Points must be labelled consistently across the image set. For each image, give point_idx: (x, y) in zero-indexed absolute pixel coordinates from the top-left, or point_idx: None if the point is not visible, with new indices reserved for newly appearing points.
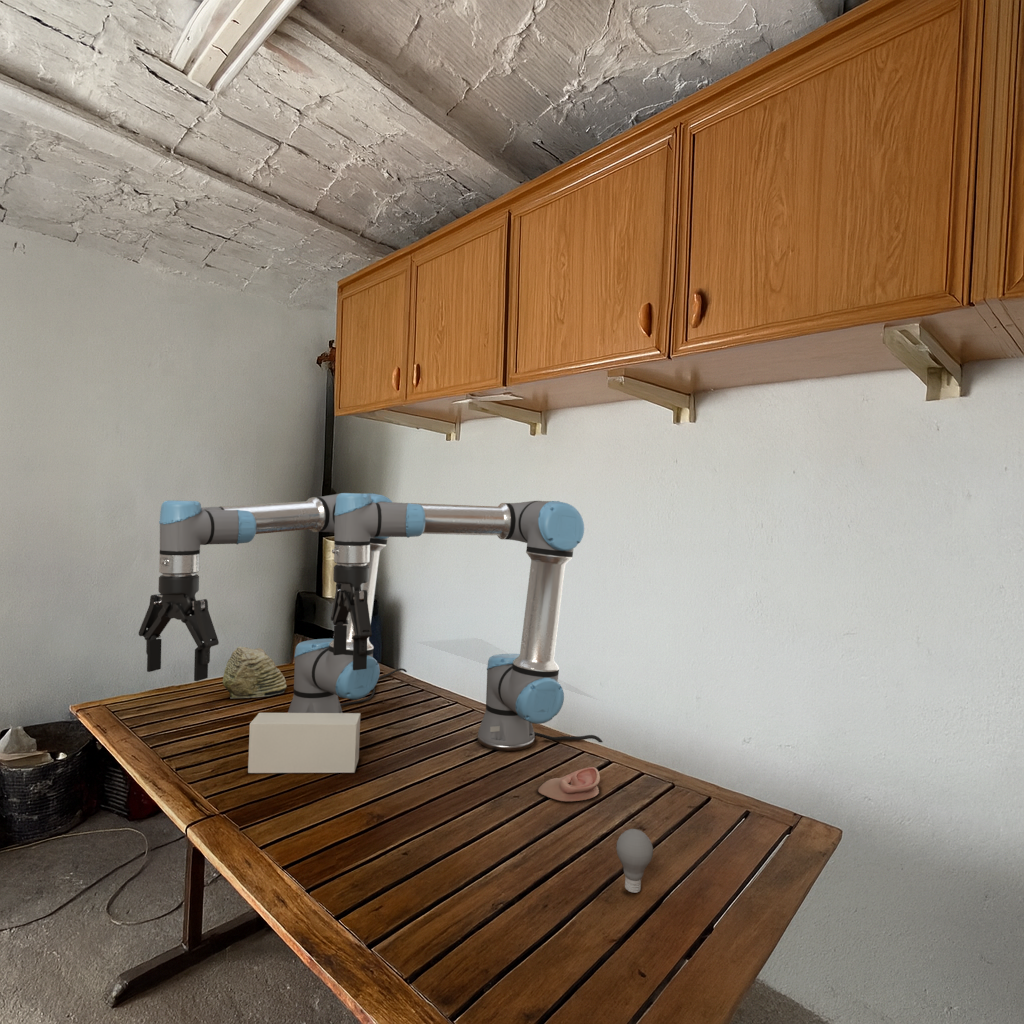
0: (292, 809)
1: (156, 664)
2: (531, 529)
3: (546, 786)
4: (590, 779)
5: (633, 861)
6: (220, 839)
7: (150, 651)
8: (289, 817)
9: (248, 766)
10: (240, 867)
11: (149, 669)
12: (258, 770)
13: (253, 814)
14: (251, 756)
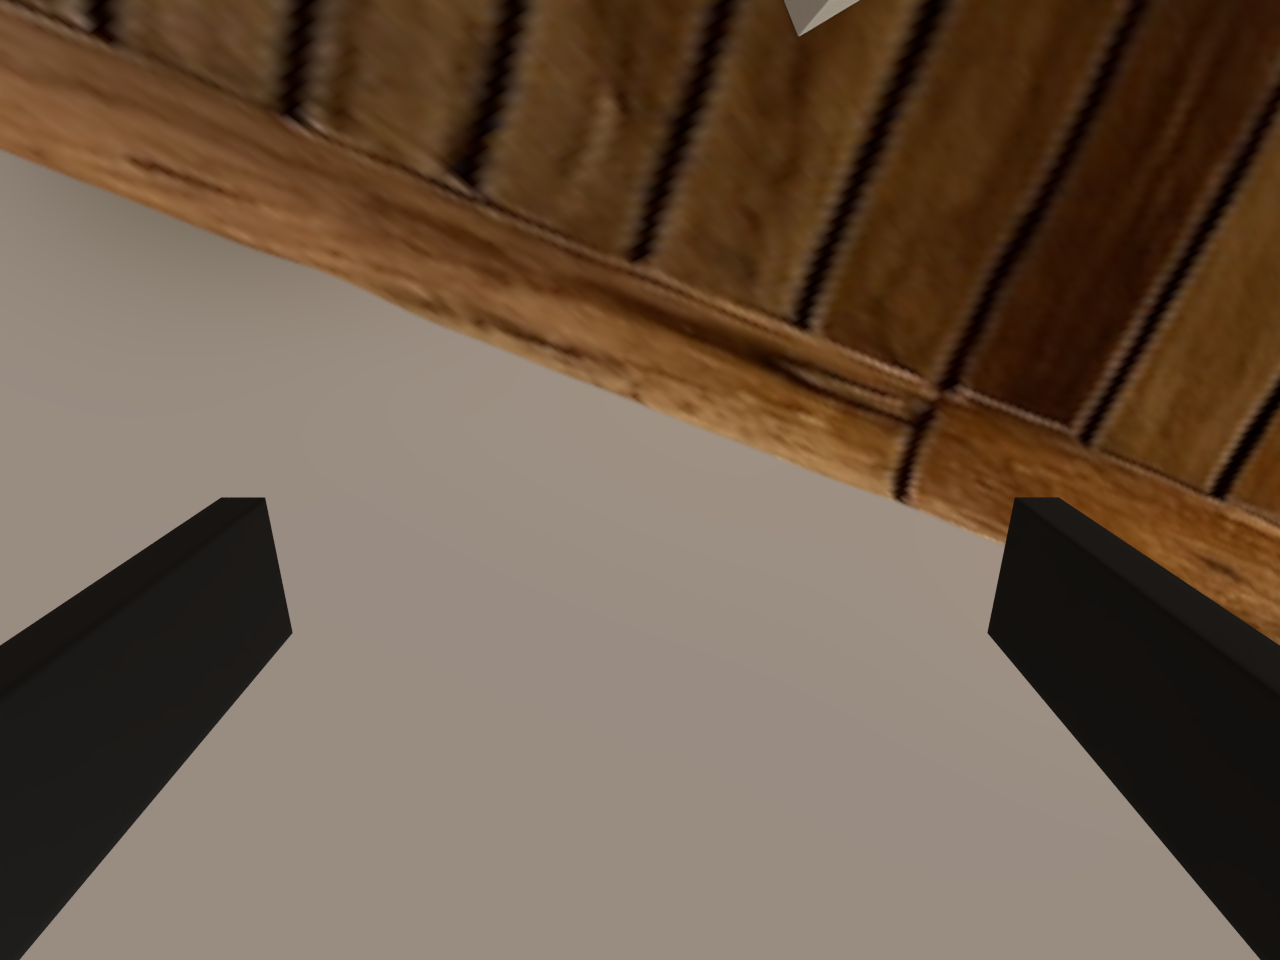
0: (1198, 237)
1: (238, 586)
2: None
3: None
4: None
5: None
6: None
7: (131, 816)
8: (1216, 296)
9: (807, 26)
10: (1210, 593)
11: (277, 649)
12: (850, 4)
13: (1067, 341)
14: (834, 3)
